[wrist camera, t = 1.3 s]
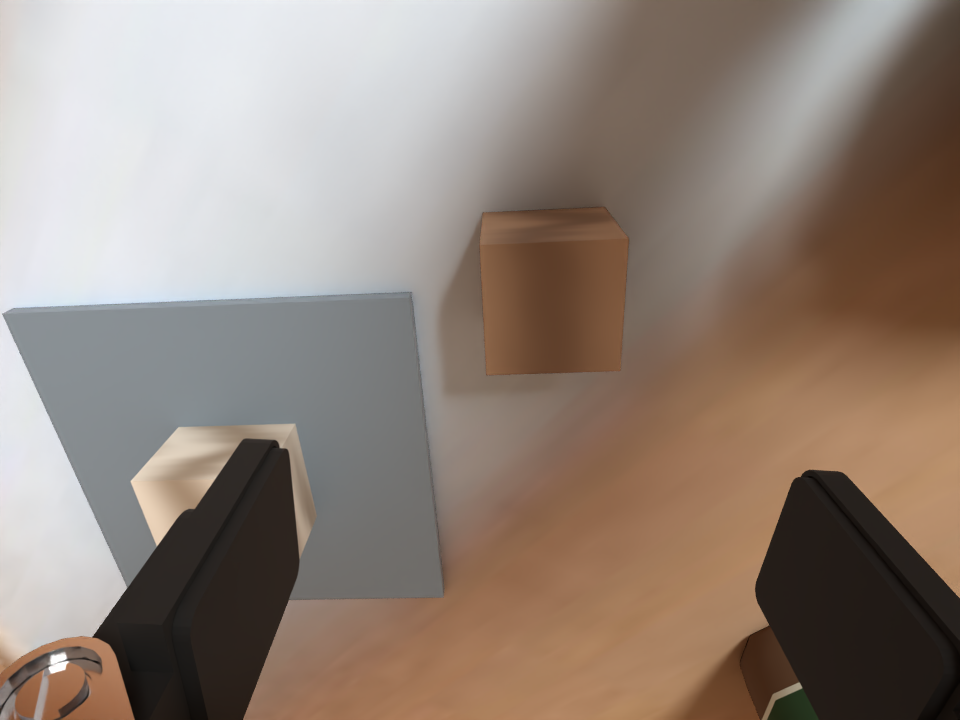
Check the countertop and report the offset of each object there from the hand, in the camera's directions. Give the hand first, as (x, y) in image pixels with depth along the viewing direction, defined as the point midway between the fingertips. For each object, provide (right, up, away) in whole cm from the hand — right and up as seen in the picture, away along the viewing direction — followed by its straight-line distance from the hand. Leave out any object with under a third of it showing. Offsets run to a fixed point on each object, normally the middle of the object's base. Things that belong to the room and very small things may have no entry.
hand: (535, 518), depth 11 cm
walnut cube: (+2, +8, +19) cm, 21 cm away
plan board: (-15, -4, +25) cm, 30 cm away
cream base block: (-15, -4, +25) cm, 29 cm away
